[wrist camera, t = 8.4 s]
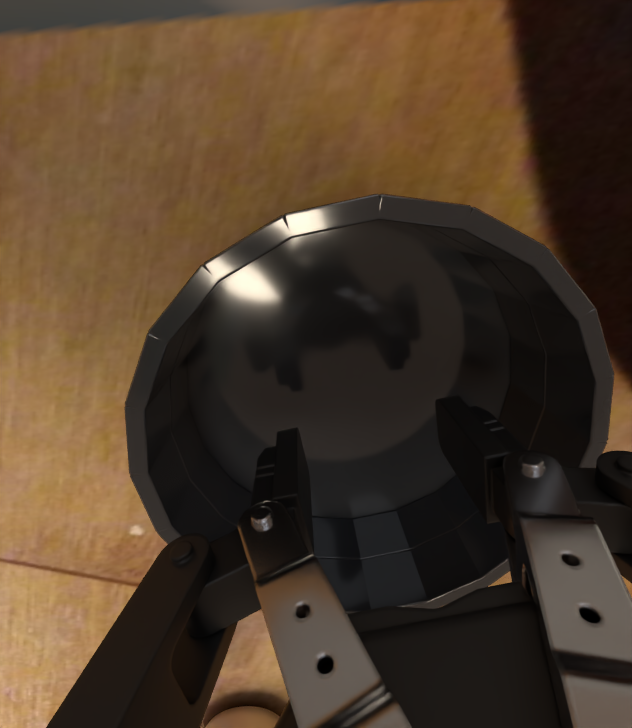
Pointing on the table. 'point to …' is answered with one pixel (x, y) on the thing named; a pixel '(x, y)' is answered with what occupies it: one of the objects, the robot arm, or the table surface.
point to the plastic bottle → (244, 718)
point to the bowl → (366, 385)
